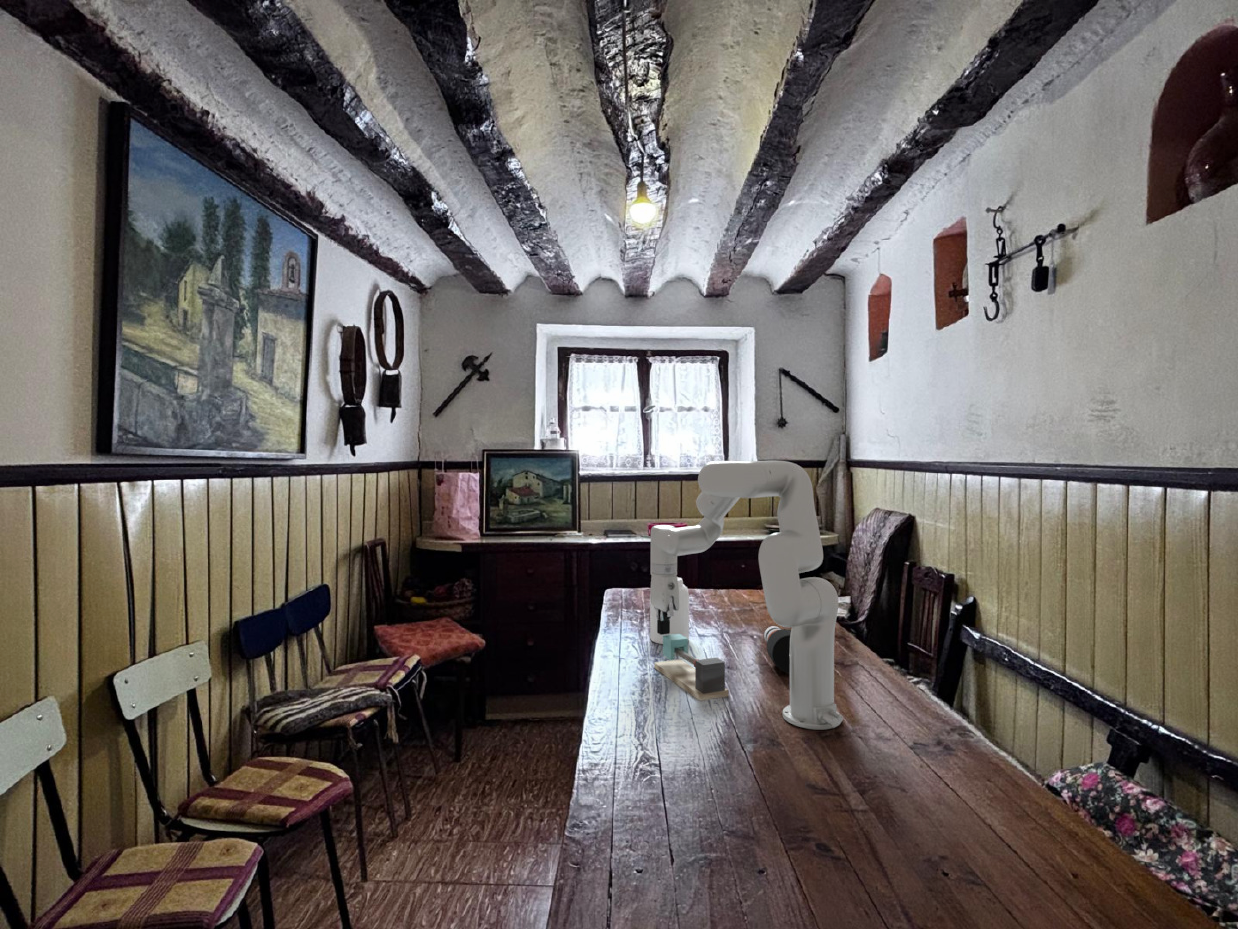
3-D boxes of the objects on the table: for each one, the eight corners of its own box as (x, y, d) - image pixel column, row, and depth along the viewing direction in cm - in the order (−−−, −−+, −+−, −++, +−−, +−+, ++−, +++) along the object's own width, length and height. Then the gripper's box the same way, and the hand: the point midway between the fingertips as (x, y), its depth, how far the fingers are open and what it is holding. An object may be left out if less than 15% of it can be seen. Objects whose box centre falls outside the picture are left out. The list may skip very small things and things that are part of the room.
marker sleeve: (687, 658, 176) (687, 638, 176) (671, 660, 174) (671, 640, 174) (679, 652, 180) (679, 633, 180) (663, 655, 179) (663, 635, 178)
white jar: (646, 644, 203) (646, 580, 203) (654, 633, 215) (653, 573, 215) (686, 647, 200) (686, 582, 200) (691, 636, 212) (691, 575, 212)
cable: (778, 655, 206) (792, 626, 206) (800, 681, 172) (817, 646, 173) (749, 639, 207) (764, 611, 208) (765, 662, 173) (782, 628, 174)
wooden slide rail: (728, 696, 159) (728, 661, 159) (699, 700, 156) (699, 665, 156) (680, 664, 183) (679, 634, 183) (654, 668, 180) (654, 637, 180)
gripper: (687, 573, 178) (687, 639, 178) (664, 564, 192) (664, 625, 192) (663, 574, 175) (662, 642, 175) (641, 565, 189) (640, 628, 189)
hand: (663, 633), depth 184 cm, fingers closed
